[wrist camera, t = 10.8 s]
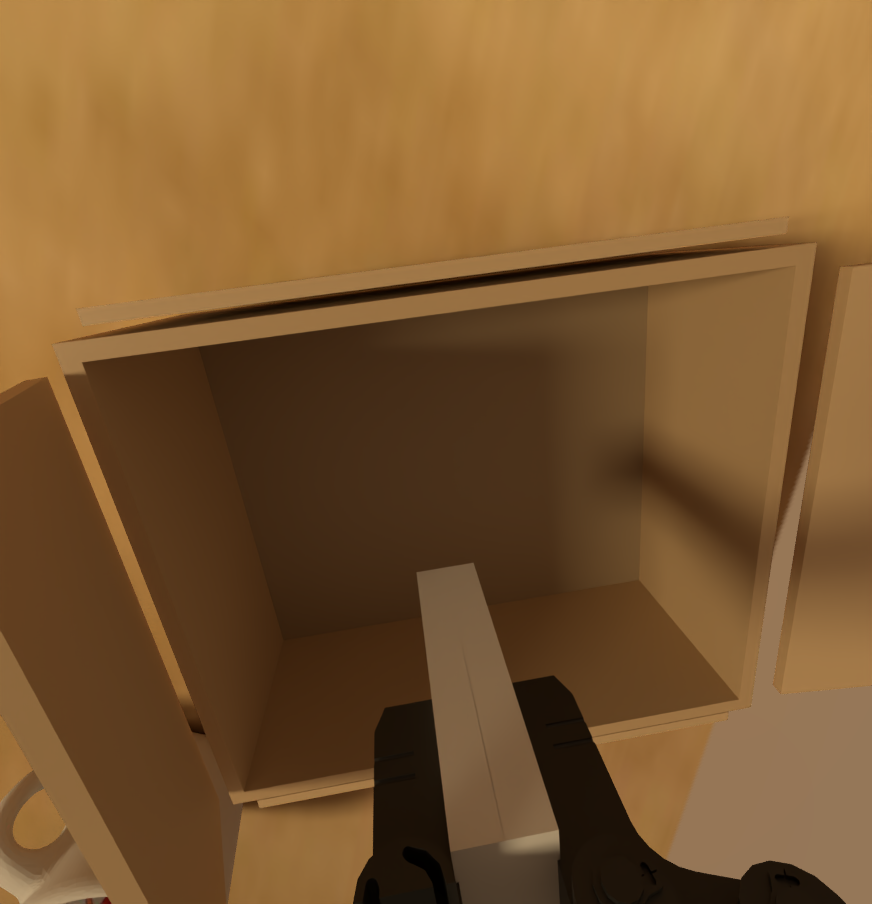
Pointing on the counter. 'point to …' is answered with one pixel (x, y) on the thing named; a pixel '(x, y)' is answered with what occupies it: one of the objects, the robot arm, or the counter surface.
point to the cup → (62, 863)
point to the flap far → (835, 514)
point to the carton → (454, 483)
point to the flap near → (94, 676)
